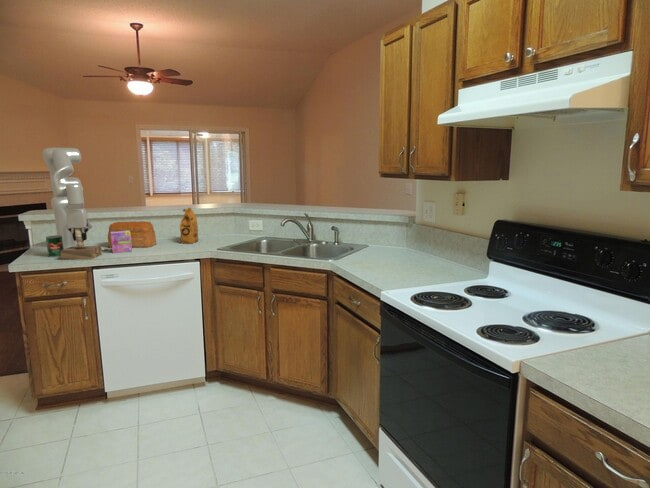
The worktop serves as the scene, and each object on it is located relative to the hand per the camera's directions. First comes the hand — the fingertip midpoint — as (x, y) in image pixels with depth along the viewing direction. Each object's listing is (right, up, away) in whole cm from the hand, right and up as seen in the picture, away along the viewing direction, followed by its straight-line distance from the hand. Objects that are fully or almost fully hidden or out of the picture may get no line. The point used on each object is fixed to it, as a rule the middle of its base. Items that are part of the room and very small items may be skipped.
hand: (80, 239), depth 248 cm
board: (0, -10, +2) cm, 10 cm away
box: (+16, -7, +17) cm, 24 cm away
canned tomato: (-17, -9, +7) cm, 21 cm away
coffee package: (+47, -1, +44) cm, 64 cm away
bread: (+14, -4, +35) cm, 38 cm away
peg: (0, -3, +1) cm, 3 cm away
